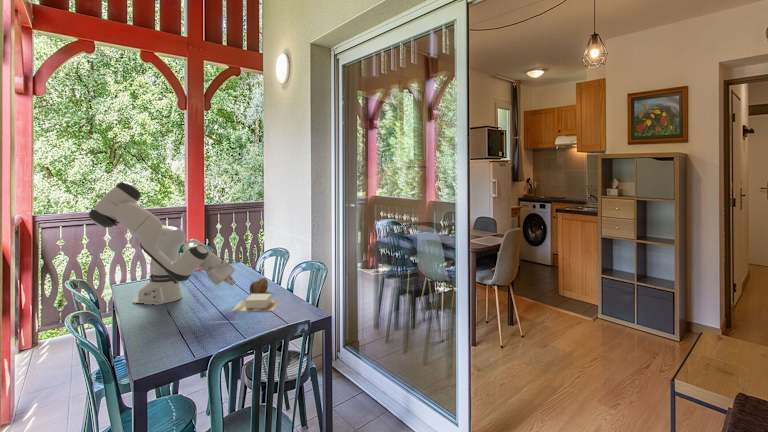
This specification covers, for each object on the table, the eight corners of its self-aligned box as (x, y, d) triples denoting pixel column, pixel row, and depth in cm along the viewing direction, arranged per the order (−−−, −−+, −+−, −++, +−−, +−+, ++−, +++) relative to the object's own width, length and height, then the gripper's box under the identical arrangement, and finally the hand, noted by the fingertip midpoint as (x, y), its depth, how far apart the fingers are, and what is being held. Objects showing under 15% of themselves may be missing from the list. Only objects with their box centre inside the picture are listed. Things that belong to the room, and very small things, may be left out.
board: (230, 312, 179) (230, 311, 179) (241, 301, 194) (241, 300, 194) (272, 311, 180) (272, 310, 180) (280, 301, 195) (280, 300, 195)
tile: (245, 300, 182) (266, 300, 183) (251, 293, 192) (271, 293, 193) (245, 308, 183) (266, 308, 183) (251, 301, 193) (271, 301, 193)
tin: (254, 299, 198) (253, 284, 197) (248, 299, 199) (248, 283, 198) (268, 291, 213) (268, 276, 212) (263, 290, 213) (262, 276, 212)
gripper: (208, 265, 175) (231, 285, 177) (224, 256, 195) (244, 274, 197) (199, 275, 175) (221, 295, 177) (216, 264, 195) (236, 282, 197)
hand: (233, 284), depth 187 cm, fingers closed
